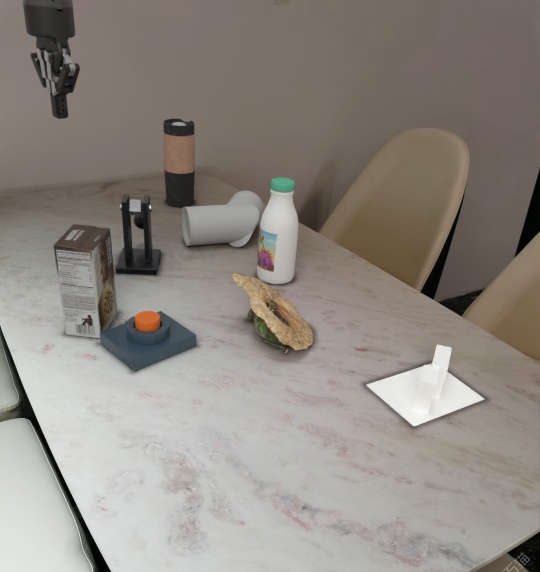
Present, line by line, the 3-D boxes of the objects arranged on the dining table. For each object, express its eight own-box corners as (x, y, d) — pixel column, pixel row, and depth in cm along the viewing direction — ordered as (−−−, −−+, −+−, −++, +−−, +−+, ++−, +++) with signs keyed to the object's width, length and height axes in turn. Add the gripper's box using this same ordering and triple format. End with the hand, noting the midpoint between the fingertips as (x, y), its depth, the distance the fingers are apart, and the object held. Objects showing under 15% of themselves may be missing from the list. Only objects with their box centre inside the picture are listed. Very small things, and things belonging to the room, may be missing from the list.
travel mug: (170, 208, 151) (167, 126, 140) (161, 198, 157) (159, 118, 146) (198, 206, 154) (199, 125, 143) (189, 196, 160) (189, 117, 148)
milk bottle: (289, 268, 127) (298, 174, 116) (297, 285, 121) (307, 187, 109) (253, 268, 125) (259, 173, 114) (259, 285, 119) (266, 186, 108)
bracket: (123, 252, 127) (118, 189, 120) (160, 254, 128) (158, 191, 120) (116, 273, 119) (110, 206, 111) (156, 274, 120) (154, 208, 112)
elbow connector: (255, 255, 128) (271, 222, 144) (247, 207, 122) (264, 179, 139) (178, 260, 132) (202, 228, 148) (166, 214, 127) (193, 186, 143)
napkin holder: (433, 361, 100) (441, 332, 97) (485, 398, 93) (496, 368, 89) (364, 385, 93) (370, 354, 90) (414, 427, 86) (423, 395, 82)
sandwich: (315, 366, 108) (339, 337, 104) (261, 379, 97) (285, 348, 93) (260, 297, 115) (280, 267, 110) (204, 302, 104) (223, 269, 100)
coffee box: (83, 308, 107) (73, 222, 98) (118, 312, 106) (111, 226, 97) (64, 335, 99) (51, 244, 90) (102, 339, 99) (93, 248, 90)
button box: (134, 371, 92) (133, 349, 90) (100, 343, 98) (98, 322, 96) (196, 345, 99) (196, 325, 97) (161, 321, 105) (160, 301, 103)
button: (144, 335, 94) (143, 325, 93) (130, 324, 96) (129, 315, 96) (165, 327, 97) (165, 318, 96) (151, 317, 99) (150, 308, 98)
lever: (134, 230, 128) (135, 214, 129) (151, 231, 129) (151, 214, 129) (125, 214, 115) (126, 195, 115) (144, 215, 116) (144, 196, 116)
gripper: (6, -3, 96) (22, 111, 105) (44, 6, 88) (59, 128, 98) (50, -2, 100) (62, 107, 110) (90, 7, 92) (100, 124, 102)
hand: (60, 117), depth 104 cm, fingers closed
